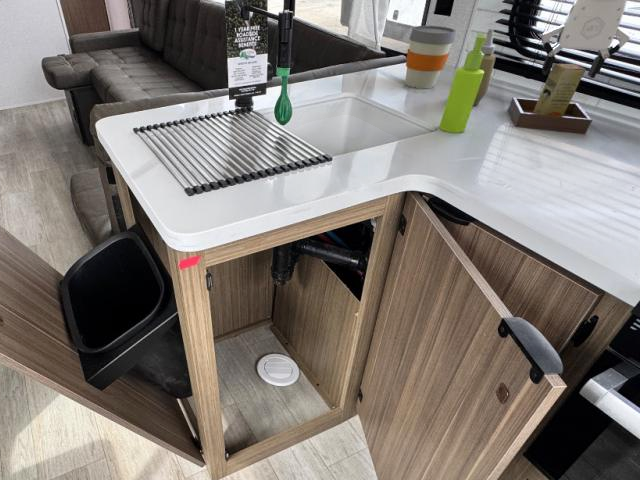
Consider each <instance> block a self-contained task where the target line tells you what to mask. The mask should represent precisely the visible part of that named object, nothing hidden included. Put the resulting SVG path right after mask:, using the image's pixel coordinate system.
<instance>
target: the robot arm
mask: <svg viewBox="0 0 640 480" xmlns="http://www.w3.org/2000/svg"><path fill="white" fill-rule="evenodd" d="M627 3H628V0H575V1H574V3H573V5H572V6H571V8H570V10H569V12H568V14H567V15H566V18H565V20H564V22H563V24H561V25H560V26H557V27H554V28H552V29H550V30H548V31H545V32H543V33H542V34H541V42H542V48H543V49H544V51H545V53H546V56H545V60H544V62H543V65H542V67H541V71H542V74H543V75H544V76H549V74H550V72H551V70H552V67H553V65H554V64H555V60H556V59H557V58H556V54H557V53H559V52H560V51H562V50H563V49H567V50H583V51H597V53H598V55H596V56H595V57H594V59H593V61H592V64H591V66H590V68H589V70H588V73H587V76H588V77H589V78H591V79H595V77H596V76H597V74H599V73H600V71H601V69H602V68H603V66H604V63H605V61H606V60H608V59H609V58H610V57H611V56H612V55H614V54H616V53H617V52H619V51H620V50H621V48H622V47H623V46H624V45H625V44H627V42H629V41H630V39H631V38H630V36H629V35H627V34H626V33H625V32H624V31H622V30H621V29H619V26H620V24H621V21H622V18H623V15H624V12H625V9H626V6H627ZM556 35H557V37H556V43H554V44H553V45H551V42H550V39H551V38H552V37H555V36H556ZM614 38H617V41H616V42H615V44H613V45H611V44H612V42H613V40H614Z"/></svg>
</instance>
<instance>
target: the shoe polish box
mask: <svg viewBox="0 0 640 480" xmlns="http://www.w3.org/2000/svg"><path fill="white" fill-rule="evenodd" d="M585 73H586V68H584V67H582V66H580V65H578V64H576V63H553V66H552V68H551V70H550V73H549V75H547V76H548V77H547V79H546V81H545V83H544V85H543V88H542V91H541V93H540V94H539V97H538V99H537V100H538V102H537V104H536V106H535V109H534V111H533V113H534V114H545V115H555V116H563V115H564V113H565V111H566V109H567V107H568V105H569V103H571V102H572V99H573V97H574V94H575V92H576V91H577V88H578V87H579V85H580V82H581V80H582V78H583V76H584V74H585Z"/></svg>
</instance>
